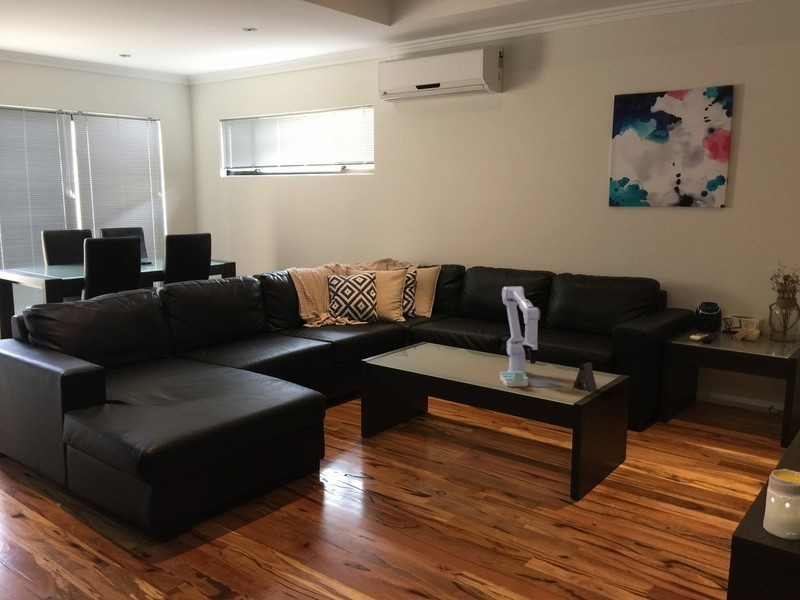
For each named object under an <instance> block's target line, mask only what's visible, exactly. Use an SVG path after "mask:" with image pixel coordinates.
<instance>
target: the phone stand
mask: <svg viewBox="0 0 800 600" xmlns="http://www.w3.org/2000/svg"><path fill="white" fill-rule="evenodd" d="M578 368H579V370H578V373H577V375H576V378H575V380H574V384H573V385H572V388H573V389H575V390H579V391H583V392H587V391H588V393H591V392H593V390H594V391H596V390H595V389H597V390H598V386H597V383H596V379H595V376H594V371H593V363H592V362H589V361H588V362H584V363H581V364H579V366H578ZM590 391H591V392H590Z"/></svg>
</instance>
